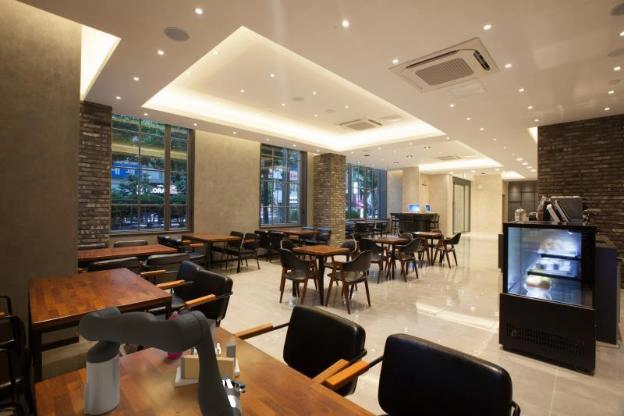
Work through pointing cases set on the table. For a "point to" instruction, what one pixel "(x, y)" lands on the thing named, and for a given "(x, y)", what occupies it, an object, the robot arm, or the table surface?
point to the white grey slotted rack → (184, 381)
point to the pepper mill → (170, 355)
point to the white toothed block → (218, 351)
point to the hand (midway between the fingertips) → (224, 377)
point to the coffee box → (212, 327)
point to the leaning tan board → (191, 366)
